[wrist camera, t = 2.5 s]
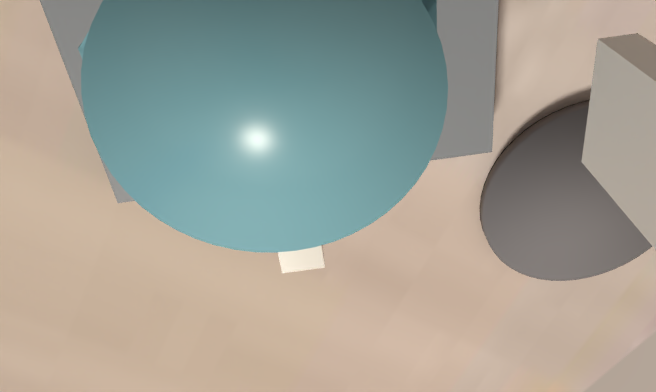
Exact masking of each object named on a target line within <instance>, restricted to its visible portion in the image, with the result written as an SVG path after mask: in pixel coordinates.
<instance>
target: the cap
mask: <svg viewBox="0 0 656 392" xmlns="http://www.w3.org/2000/svg"><path fill="white" fill-rule="evenodd" d="M78 50H79V52H80V55H81V58H82V67H81V95H82V101H83V108H84V114H85V118H86V121H87V124H88V128H89V131H90V134H91V137H92V139H93V141H94V144H95V146H96V148H97V150H98V152H99V154H100V157H101V158H102V160H103V161H104V163H105V164H106V166H107V168H108V169H109V171H110V172H111V174H112V175H113V177H114V178H115V179H116V180H117V181H118V183H119V184H120V185H121V186H122V188H123V189H124V190H125V191H126V192H127V193H128V194H129V195H130V196H131V197H132V198H133V199H134V200H135V201H136V202H137V203H138V204H139V205H140V206H141V207H143V208H144V209H145V210H147V211H148V212H149V213H151V214H152V215H153V216H155V217H156V218H157V219H159V220H160V221H162V222H164V223H165V224H167V225H169V226H171V227H172V228H174V229H176V230H178V231H180V232H182V233H184V234H186V235H188V236H191V237H193V238H195V239H198V240H201V241H204V242H207V243H210V244H213V245H216V246H221V247H225V248H230V249H234V250H242V251H250V252H278V256H279V260H280V265H281V270H282V273H288V272H295V271H303V270H310V269H317V268H325V263H324V253H323V245H324V244H327V243H331V242H334V241H337V240H339V239H341V238H344V237H346V236H349V235H351V234H353V233H355V232H357V231H359V230H361V229H362V228H364V227H366V226H368V225H370V224H371V223H373V222H374V221H376V220H377V219H378V218H380V217H381V216H383V215H384V214H385V213H387V212H388V211H389V210H390V209H391V208H392V207H394V206H395V205H396V204H397V203H398V202H399V201H400V200H401V199H402V198H403V197H404V196H405V195H406V194H407V193H408V191H409V190H410V189H411V188H412V187H413V186H414V185H415V183H416V182H417V180H418V179H419V177H420V176H421V174H422V173H423V172H424V170H425V169H426V167H427V165H428V163H429V161H430V159H431V157H432V155H433V153H434V151H435V149H436V147H437V144H438V141H439V138H440V135H441V132H442V129H443V125H444V120H445V115H446V110H447V97H448V80H447V67H446V62H445V57H444V53H443V48H442V44H441V41H440V38H439V36H438V33H437V0H103V1H102V3H101V5H100V7H99V9H98V11H97V13H96V15H95V17H94V19H93V22H92V24H91V26H90V30H89V31H88V33H87V35H86V37H85V38H84V40H83V42H82V43H81V44H80V46H79V47H78Z"/></svg>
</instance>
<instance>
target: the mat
mask: <svg viewBox="0 0 656 392" xmlns="http://www.w3.org/2000/svg"><path fill="white" fill-rule="evenodd" d="M589 102H590V101H586V102H581V103H578V104H575V105H572V106H568V107H566V108H563V109H561V110H559V111H556V112H554V113H552V114H550V115H548V116H547V117H545V118H543V119H541V120H539V121H538V122H536V123H535V124H533V125H532V126H531V127H529V128H528V129H526V130H525V131H524V132H523V133H522V134H520V135H519V136H518V137H517V138H516V139H515V140H514V141H513V142H512V143H511V144H510V145H509V146H508V147H507V148H506V149H505V150H504V151H503V153H502V154H501V155H500V157H499V158H498V159H497V161H496V162H495V164H494V166H493V167H492V169H491V171H490V173H489V175H488V177H487V179H486V182H485V184H484V187H483V191H482V195H481V201H480V220H481V224H482V229H483V231H484V234H485V236H486V238H487V241H488V243H489V245H490V247H491V248H492V250H493V251H494V253H495V254H496V255H497V256H498V258H499V259H500V260H501V261H502V262H504V263H505V264H506V265H507V266H509V267H510V268H512V269H514V270H515V271H517V272H519V273H521V274H524V275H527V276H529V277H533V278H537V279H543V280H551V281H567V280H577V279H583V278H588V277H592V276H596V275H599V274H603V273H605V272H608V271H611V270H613V269H616V268H618V267H620V266H622V265H624V264H626V263H628V262H630V261H631V260H633V259H635V258H637V257H638V256H640V255H641V254H643V253H644V252H645V251H647V250H648V249H650V248H651V247H652V245H651V244H650V243H649V241H648V240H647V239H646V238H645V237H644V236H643V234H642V233H641V232H640V231H639V230H638V228H637V227H636V226H635V225H634V224H633V222H632V221H631V220H630V219H629V218H628V217H627V215H626V214H625V213H624V212H623V211H622V209H621V208H620V207H619V206H618V205H617V204H616V202H615V201H614V200H613V199H612V198H611V196H610V195H609V194H608V193H607V192H606V190H605V189H604V188H603V187H602V186H601V185H600V183H599V182H598V181H597V180H596V179H595V177H594V176H593V175H592V174H591V173H590V171H589V170H588V169H587V168H586V167H585V166H584V164H583V163H582V162H581V161H582V154H583V146H584V139H585V132H586V124H587V117H588V109H589Z"/></svg>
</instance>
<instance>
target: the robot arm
mask: <svg viewBox="0 0 656 392" xmlns="http://www.w3.org/2000/svg"><path fill="white" fill-rule="evenodd" d="M581 162H582V163H583V164H584V166H585V167H586V168H587V169H588V170H589V171H590V173H591V174H592V175H593V176H594V177H595V179H596V180H597V181H598V182H599V183H600V185H601V186H602V187H603V188H604V189H605V190H606V192H607V193H608V194H609V195H610V196H611V198H612V199H613V200H614V201H615V202H616V204H617V205H618V206H619V207H620V208H621V209H622V211H623V212H624V213H625V214H626V215H627V217H628V218H629V219H630V220H631V221H632V222H633V224H634V225H635V226H636V227H637V228H638V230H639V231H640V232H641V233H642V234H643V236H644V237H645V238H646V239H647V240H648V241H649V243H650V244H651V245H652V246H653V247H654V249H655V250H656V45H655V44H653V43H652V42H650V41H649V40H647V39H646V38H644V37H642V36H641V35H639V34H638V33H636V34H629V35H622V36H615V37H607V38H600V39H598V42H597V49H596V57H595V64H594V72H593V79H592V87H591V94H590V102H589V109H588V117H587V124H586V132H585V139H584V146H583V154H582V161H581Z"/></svg>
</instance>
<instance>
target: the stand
mask: <svg viewBox="0 0 656 392" xmlns="http://www.w3.org/2000/svg"><path fill="white" fill-rule="evenodd" d="M102 1H103V0H40V2H41V5H42V7H43V10H44V12H45V15H46V18H47V20H48V23H49V25H50V28H51V31H52V33H53V36H54V38H55V41H56V44H57V46H58V49H59V51H60V54H61V57H62V59H63V62H64V64H65V67H66V70H67V72H68V75H69V77H70V80H71V83H72V85H73V88H74V90H75V93H76V96H77V98H78V101H79V103H80V106H81V109H82V111H83V114H84V108H83V101H82V95H81V67H82V58H81V55H80V52H79V50H78V47H79V46H80V44H81V43H82V42H83V40H84V38H85V37H86V35H87V33H88V31H89V30H90V26H91V24H92V22H93V19H94V17H95V15H96V13H97V11H98V9H99V7H100V5H101V3H102ZM498 1H499V0H437V33H438V36H439V38H440V41H441V44H442V48H443V53H444V57H445V62H446V67H447V80H448V97H447V110H446V115H445V120H444V125H443V129H442V132H441V135H440V138H439V141H438V144H437V147H436V149H435V151H434V153H433V155H432V157H431V159H430V160H437V159H444V158H452V157H459V156H466V155H473V154H481V153H488V152H492V141H493V118H494V94H495V71H496V48H497V24H498ZM84 116H85V114H84ZM85 119H86V118H85ZM86 122H87V121H86ZM98 153H99V152H98ZM99 155H100V154H99ZM100 158H101V157H100ZM101 161H102V163H103V166H104V168H105V171H106V173H107V176H108V179H109V181H110V184H111V186H112V189H113V192H114V194H115V197H116V199H117V202H118V203H122V202H130V201H135V200H134V199H133V198H132V197H131V196H130V195H129V194H128V193H127V192H126V191H125V190H124V189H123V188H122V186H121V185H120V184H119V183H118V181H117V180H116V179H115V178H114V177H113V175H112V174H111V172H110V171H109V169H108V168H107V166H106V164H105V163H104V161H103V160H102V158H101Z"/></svg>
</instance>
